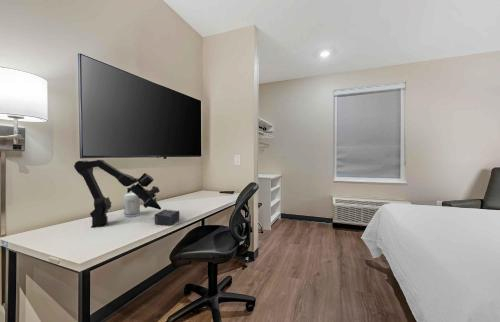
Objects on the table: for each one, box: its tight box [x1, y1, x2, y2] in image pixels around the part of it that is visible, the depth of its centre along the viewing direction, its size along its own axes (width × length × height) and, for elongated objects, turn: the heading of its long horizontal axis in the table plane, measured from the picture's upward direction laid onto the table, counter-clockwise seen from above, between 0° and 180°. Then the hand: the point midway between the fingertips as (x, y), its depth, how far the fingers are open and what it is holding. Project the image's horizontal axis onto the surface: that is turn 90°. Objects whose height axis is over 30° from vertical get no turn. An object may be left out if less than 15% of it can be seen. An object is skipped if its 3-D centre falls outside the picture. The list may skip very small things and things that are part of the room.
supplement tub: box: [123, 192, 141, 218], centre depth 140 cm, size 10×10×15 cm
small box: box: [154, 209, 180, 226], centre depth 126 cm, size 11×6×10 cm
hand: (160, 208), depth 128 cm, fingers closed
